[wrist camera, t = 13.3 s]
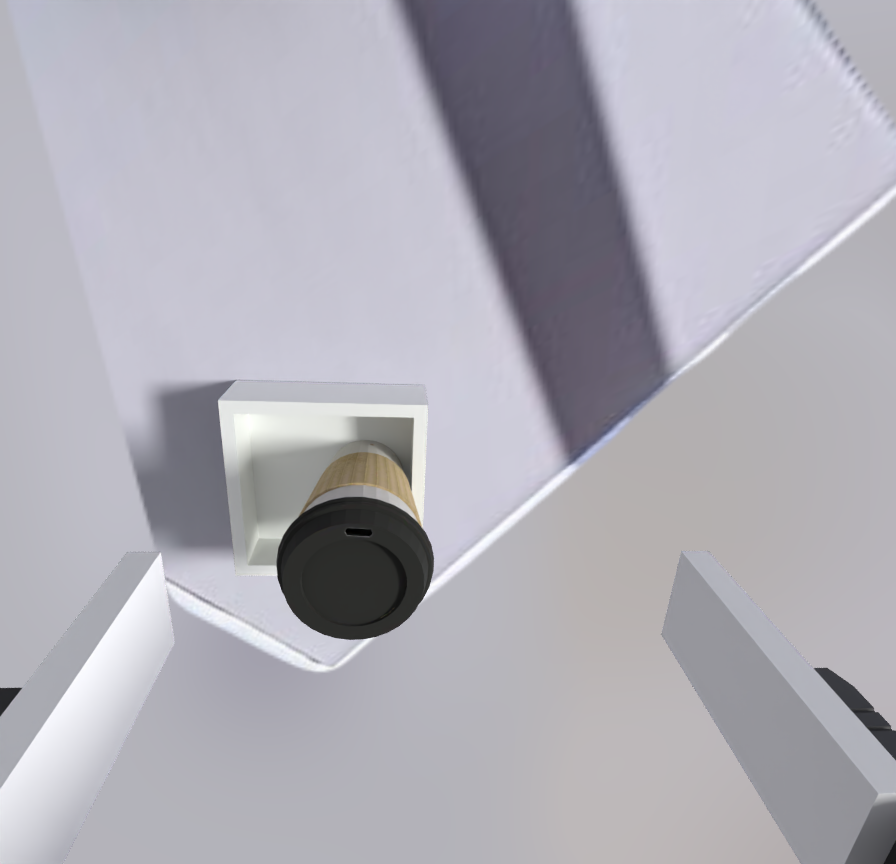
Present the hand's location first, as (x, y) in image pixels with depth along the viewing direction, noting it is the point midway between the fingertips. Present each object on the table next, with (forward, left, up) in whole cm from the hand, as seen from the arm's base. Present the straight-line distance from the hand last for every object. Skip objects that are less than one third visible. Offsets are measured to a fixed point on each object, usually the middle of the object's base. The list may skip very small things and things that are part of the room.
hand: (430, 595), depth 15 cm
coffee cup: (+12, -3, -32) cm, 34 cm away
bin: (+12, -6, -33) cm, 35 cm away
